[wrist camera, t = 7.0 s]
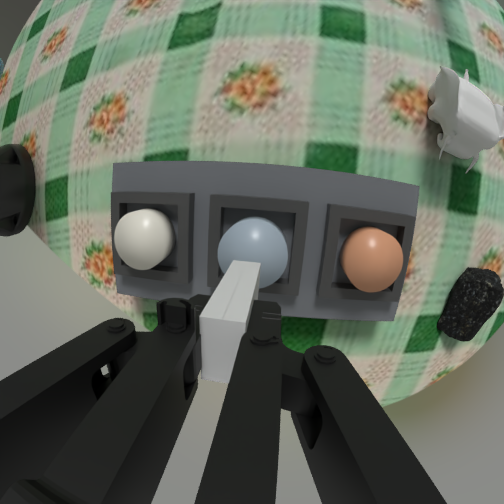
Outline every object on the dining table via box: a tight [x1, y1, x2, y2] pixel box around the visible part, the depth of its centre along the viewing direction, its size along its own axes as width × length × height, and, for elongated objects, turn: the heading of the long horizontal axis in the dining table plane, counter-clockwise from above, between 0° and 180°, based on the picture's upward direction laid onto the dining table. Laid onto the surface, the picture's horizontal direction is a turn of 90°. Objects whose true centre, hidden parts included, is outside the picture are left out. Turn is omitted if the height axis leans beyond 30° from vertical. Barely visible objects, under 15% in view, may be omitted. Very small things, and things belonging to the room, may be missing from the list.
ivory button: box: [114, 208, 176, 270], centre depth 23 cm, size 5×5×2 cm
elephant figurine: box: [427, 66, 504, 173], centre depth 18 cm, size 10×12×9 cm
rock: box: [437, 267, 504, 342], centre depth 25 cm, size 7×10×6 cm
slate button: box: [218, 217, 288, 289], centre depth 21 cm, size 5×5×2 cm
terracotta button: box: [340, 226, 403, 292], centre depth 22 cm, size 5×5×2 cm
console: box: [111, 161, 419, 321], centre depth 26 cm, size 30×14×6 cm, turn 86°
